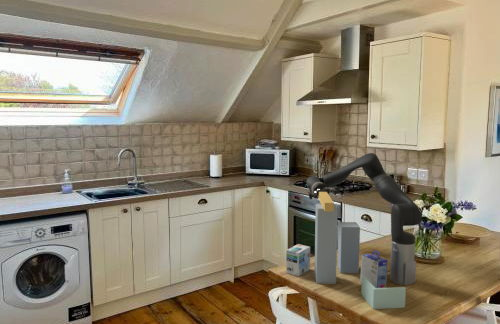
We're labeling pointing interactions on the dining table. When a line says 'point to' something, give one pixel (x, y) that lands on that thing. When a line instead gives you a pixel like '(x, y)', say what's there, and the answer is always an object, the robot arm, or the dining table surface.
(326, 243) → the tall post
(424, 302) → the dining table surface
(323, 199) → the rail
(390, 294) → the l-shaped corner panel
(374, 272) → the ink cartridge box
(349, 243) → the low post
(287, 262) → the light bulb box
